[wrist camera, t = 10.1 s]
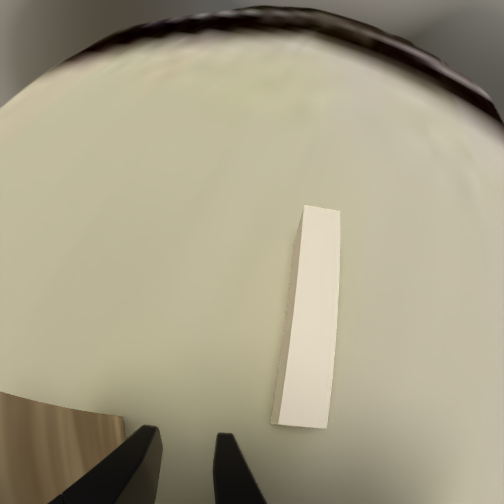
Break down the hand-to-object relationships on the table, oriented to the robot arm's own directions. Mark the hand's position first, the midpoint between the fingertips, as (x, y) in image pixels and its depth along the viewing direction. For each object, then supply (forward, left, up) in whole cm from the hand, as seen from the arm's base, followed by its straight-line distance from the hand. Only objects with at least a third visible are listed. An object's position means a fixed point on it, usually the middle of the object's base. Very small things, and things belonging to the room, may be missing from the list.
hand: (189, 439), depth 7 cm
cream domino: (0, -4, -6) cm, 7 cm away
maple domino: (-2, +6, -8) cm, 10 cm away
